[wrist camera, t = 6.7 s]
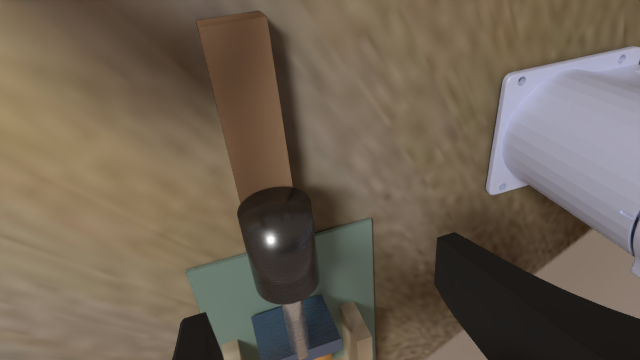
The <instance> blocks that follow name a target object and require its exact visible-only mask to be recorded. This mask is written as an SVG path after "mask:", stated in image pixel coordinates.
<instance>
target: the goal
mask: <svg viewBox="0 0 640 360" xmlns="http://www.w3.org/2000/svg"><path fill="white" fill-rule="evenodd" d="M340 312H341V322H342V333H343V343H344V353H345V355H343V356H340V357H337V358H335V359H332V360H373V354H372V336H371V334H370V332H369V330H368V328H367V326H366V324H365V322H364V320H363V318H362V316H361V314H360V312H359V310H358V309H357V307H356V305H355V303H354V301H352V302H349V303H346V304H343V305H340ZM222 351H223V357H224V360H244V359H243V355H242V352H241V349H240V346H239V343H238V340H237V339H236V340H233V341H230V342H227V343H224V344H222Z"/></svg>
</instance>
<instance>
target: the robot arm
mask: <svg viewBox="0 0 640 360" xmlns="http://www.w3.org/2000/svg"><path fill="white" fill-rule="evenodd" d="M639 60H640V48H639V47H635V46H631V47H627V48H622V49H618V50H613V51H608V52H604V53H599V54H594V55H590V56H585V57H580V58H576V59H571V60H567V61H562V62H557V63H553V64H548V65H543V66H539V67H534V68H530V69H525V70H520V71H516V72H511V73H509V74H507V75H506V76H505V78H504V79H503V82H502V88H501V94H500V100H499V107H498V113H497V120H496V126H495V132H494V139H493V145H492V152H491V158H490V164H489V171H488V177H487V184H486V191H487V192H488V193H489V194H491V195H496V194H499V193H502V192H506V191H509V190H513V189H516V188H520V187H523V186H527V185H530V186H531V187H533V188H534V189H536V190H537V191H539V192H540V193H542V194H543V195H545V196H546V197H548V198H549V199H551V200H552V201H553V202H555V203H556V204H558V205H559V206H561V207H562V208H564V209H565V210H567V211H568V212H570V213H571V214H573V215H574V216H575V217H577V218H578V219H580V220H581V221H583V222H584V223H586V224H587V225H589V226H590V227H592V228H593V229H595V230H596V231H597V232H599V233H601V234H602V235H603V236H605V237H606V238H608V239H609V240H611V241H612V242H614V243H615V244H617V245H618V246H620V247H621V248H623V249H624V250H625V251H627V252H628V253H630V254H631V255H633V256H634V257H635V260H634V264H633V266H632V268H631V272H632V273H633V274H635V275H636V276H638V277H639V278H640V65H638V63H639ZM520 78H521V79H520ZM519 79H520V81H519ZM518 81H519V83H518ZM434 284H435V286H436V288H437V289H438V291H439V293H440V294H441V296H442V298H443V300H444V301H445V303H446V305H447V306H448V308H449V309H450V311H451V313H452V314H453V315H454V317H455V318H456V319H457V320H458V322H459V323H460V324H461V326H462V327H463V328H464V330H465V331H466V332H467V334H468V335H469V336H470V337H471V339H472V340H473V341H474V342H475V344H476V345H477V346H478V348H479V349H480V350H481V351H482V353H483V354H484V355H485V356H486V358H487V359H488V360H640V319H638V318H635V317H633V316H630V315H627V314H624V313H621V312H618V311H615V310H612V309H610V308H607V307H604V306H602V305H599V304H597V303H594V302H592V301H589V300H587V299H584V298H582V297H580V296H577V295H575V294H573V293H570V292H568V291H566V290H563V289H561V288H559V287H557V286H555V285H553V284H551V283H549V282H546V281H544V280H542V279H540V278H538V277H536V276H534V275H532V274H530V273H528V272H526V271H524V270H522V269H521V268H519V267H517V266H515V265H513V264H511V263H509V262H507V261H506V260H504V259H502V258H500V257H498V256H496V255H495V254H493V253H491V252H489V251H487V250H486V249H484V248H482V247H480V246H479V245H477V244H475V243H473V242H471V241H470V240H468V239H466V238H464V237H462V236H461V235H459V234H457V233H455V232H453V233H450V234H447V235H444V236H441V237H438V238H437V248H436V264H435V279H434ZM172 360H224V357H223V354H222V351H221V349H220V346H219V344H218V341H217V339H216V336H215V334H214V331H213V329H212V326H211V324H210V321H209V319H208V316H207V314H206V312H203V313H200V314H197V315H194V316H191V317H188V318H185V319H183V320H182V322H181V323H180V328H179V334H178V338H177V343H176V347H175V351H174V355H173V359H172Z"/></svg>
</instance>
